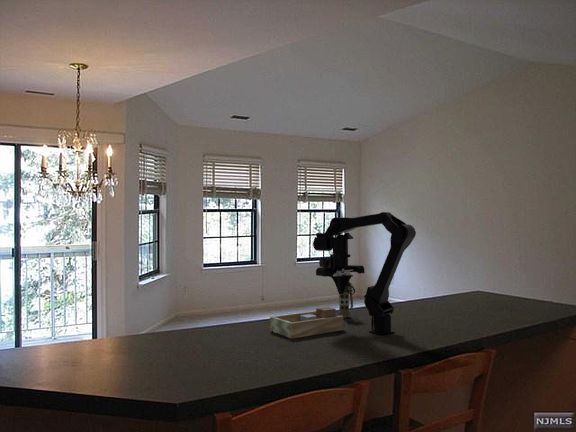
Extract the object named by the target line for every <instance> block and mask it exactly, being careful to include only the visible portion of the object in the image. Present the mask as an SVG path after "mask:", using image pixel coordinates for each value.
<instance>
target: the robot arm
mask: <svg viewBox="0 0 576 432" xmlns="http://www.w3.org/2000/svg"><path fill="white" fill-rule="evenodd" d="M375 225H377V226H378V225H382V226H383V227H384V228H385V230H386V231H387V232H389V233H390V234H391V235H390V239H389V240H390V246H389V247H390V248H389V251H388V253H387V256H386V258H385V260H384V263H383V265H382V267H381V270H380V272H379V276H378V277H377V280H376V283H375V284H374V285H371V286H368V287H367V288H366V293H365V295H363V298H364V300H363V302H364V303H363V304H364V306H365V307H366V309H367V311H368V315H369V316H370V317H371V320H370V321H371V322H370V323H371V324H370V325H371V329H369V330H368V333H372V334H376V335H380V336H382V335H383V336H384V335H389V334H394V333H395V330H392V315H391V314H393V313H394V310H395V307H394V306H393V304H391V303H390V301H389V298H390V289H389V288H390V286H391V284H392V282H393V280H394V279H393V278H394V276H395V273H396V272H397V269H398V266H399V263H400V261H401V260H402V257H403V254H404V252H405V251H406V250H407V248H408V247H409V246H410V245H411V244H412V242H413V241H414V239H416V238H415V237H416V235H417V231H416V229H415V227H414V226H413V225H411V224H409V223H406V222H404V220H401V219H400V218H398V217H397V216H395V215H394V214H393V213H391V212H389V211H382V212H379V213H373V214H367V215H362V216H357V217H356V216H355V217H345V216H344V217H341V216H340V217H336V216H335V217H333V218H331V219H330V221H329V225H328V227H327V229H326V230H325V232H324V233H323V232H316V233H315V234H316V235H315V237H314V239H313V242H312V246H313V249H314V250H315V251H316V252H321V251H322V252H331V251H332V253H330V255H329V258H328V259H327V258H326V257H321V258H319V262H318V264H319V267H317V268H316V269H315V276H319V277H324V278H325V277H327V278H328V277H329V278H331V279H332V280H333V282H334V284H335V287H336V289H337V292H338V295H339V294H343V293H344V290H345V288H346V286H347V284H348V282H350V280H351V279H352V277H354V275H353V274H351V273H357V274H359V275H360V274H365V267H364V265H360V264H349V258H351V254H350V253H349V240H354V236H353V235H351V233H350V232H351V231H353V230H355V229H359V228H363V227H364V228H365V227H369V226H375Z"/></svg>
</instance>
